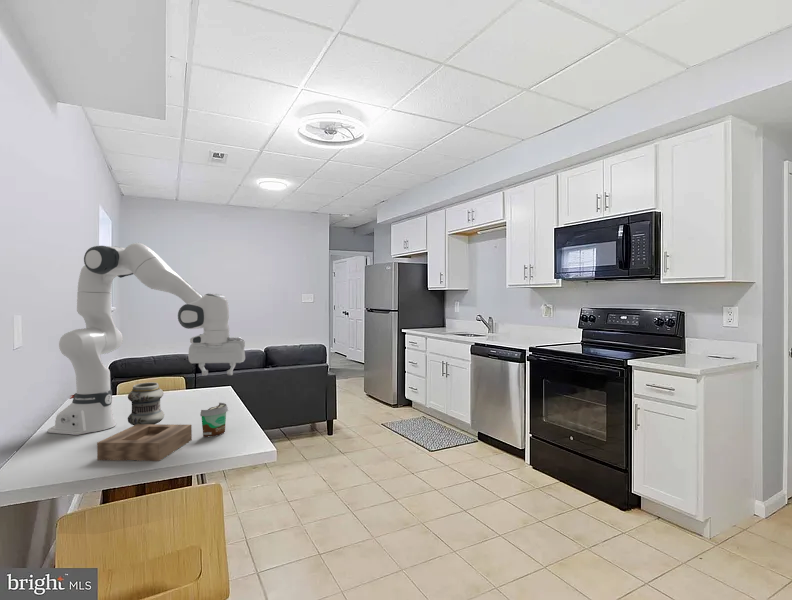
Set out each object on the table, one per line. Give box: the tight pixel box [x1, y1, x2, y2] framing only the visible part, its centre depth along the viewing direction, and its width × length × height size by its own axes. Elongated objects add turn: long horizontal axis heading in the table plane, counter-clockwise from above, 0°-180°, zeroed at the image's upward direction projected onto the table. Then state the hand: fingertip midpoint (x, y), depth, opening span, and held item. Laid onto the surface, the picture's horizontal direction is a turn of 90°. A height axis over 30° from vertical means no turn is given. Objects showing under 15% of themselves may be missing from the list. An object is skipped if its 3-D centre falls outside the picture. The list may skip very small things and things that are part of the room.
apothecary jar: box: [127, 381, 165, 426], centre depth 173 cm, size 12×12×18 cm
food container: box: [200, 402, 229, 438], centre depth 170 cm, size 12×6×10 cm, turn 168°
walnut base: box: [96, 423, 193, 462], centre depth 153 cm, size 20×20×6 cm
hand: (217, 375), depth 170 cm, fingers open, 8 cm apart
